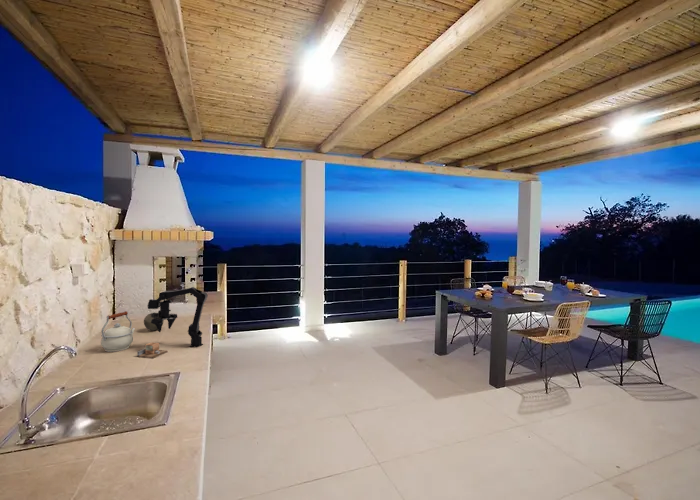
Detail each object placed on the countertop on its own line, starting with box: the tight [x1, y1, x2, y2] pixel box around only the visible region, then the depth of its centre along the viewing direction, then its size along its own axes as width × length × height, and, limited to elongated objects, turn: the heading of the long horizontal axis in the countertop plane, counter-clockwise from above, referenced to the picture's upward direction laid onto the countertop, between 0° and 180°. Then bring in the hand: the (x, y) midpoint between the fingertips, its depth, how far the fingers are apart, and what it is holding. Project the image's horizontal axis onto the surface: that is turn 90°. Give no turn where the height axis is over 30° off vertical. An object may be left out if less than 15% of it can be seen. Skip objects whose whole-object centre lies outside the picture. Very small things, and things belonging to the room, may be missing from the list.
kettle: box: [100, 311, 136, 353], centre depth 223 cm, size 25×18×25 cm
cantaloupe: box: [143, 313, 165, 332], centre depth 265 cm, size 14×14×15 cm
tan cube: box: [144, 342, 160, 354], centre depth 213 cm, size 6×5×6 cm
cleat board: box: [136, 348, 168, 359], centre depth 213 cm, size 12×12×4 cm
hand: (164, 330), depth 227 cm, fingers open, 9 cm apart
